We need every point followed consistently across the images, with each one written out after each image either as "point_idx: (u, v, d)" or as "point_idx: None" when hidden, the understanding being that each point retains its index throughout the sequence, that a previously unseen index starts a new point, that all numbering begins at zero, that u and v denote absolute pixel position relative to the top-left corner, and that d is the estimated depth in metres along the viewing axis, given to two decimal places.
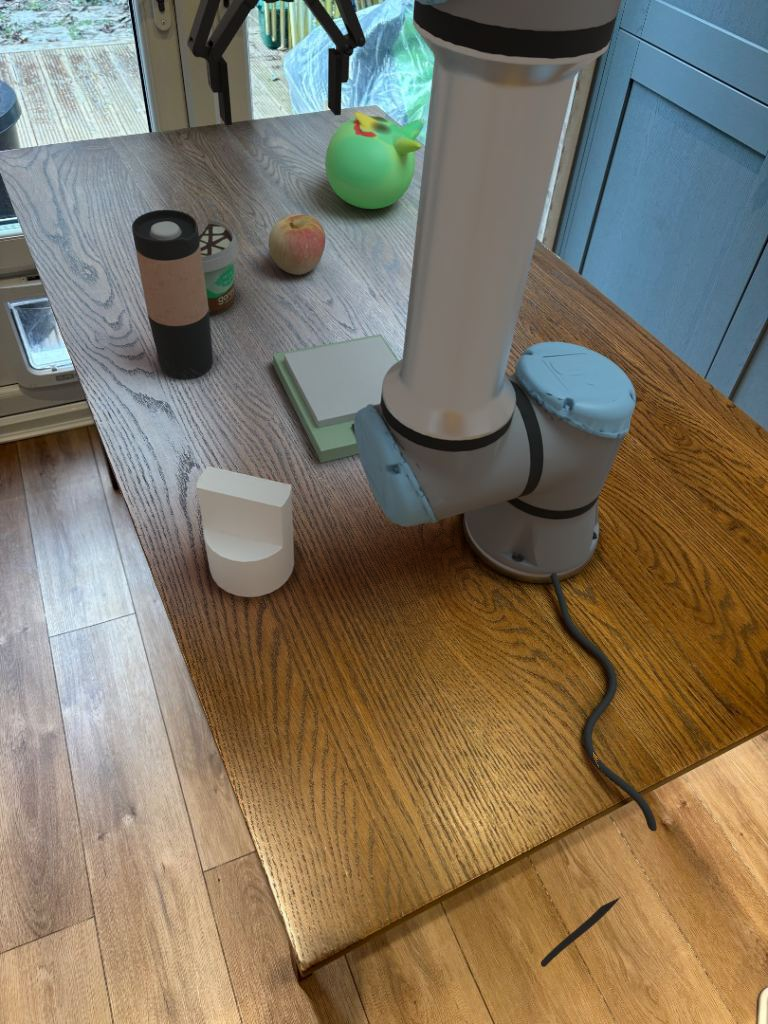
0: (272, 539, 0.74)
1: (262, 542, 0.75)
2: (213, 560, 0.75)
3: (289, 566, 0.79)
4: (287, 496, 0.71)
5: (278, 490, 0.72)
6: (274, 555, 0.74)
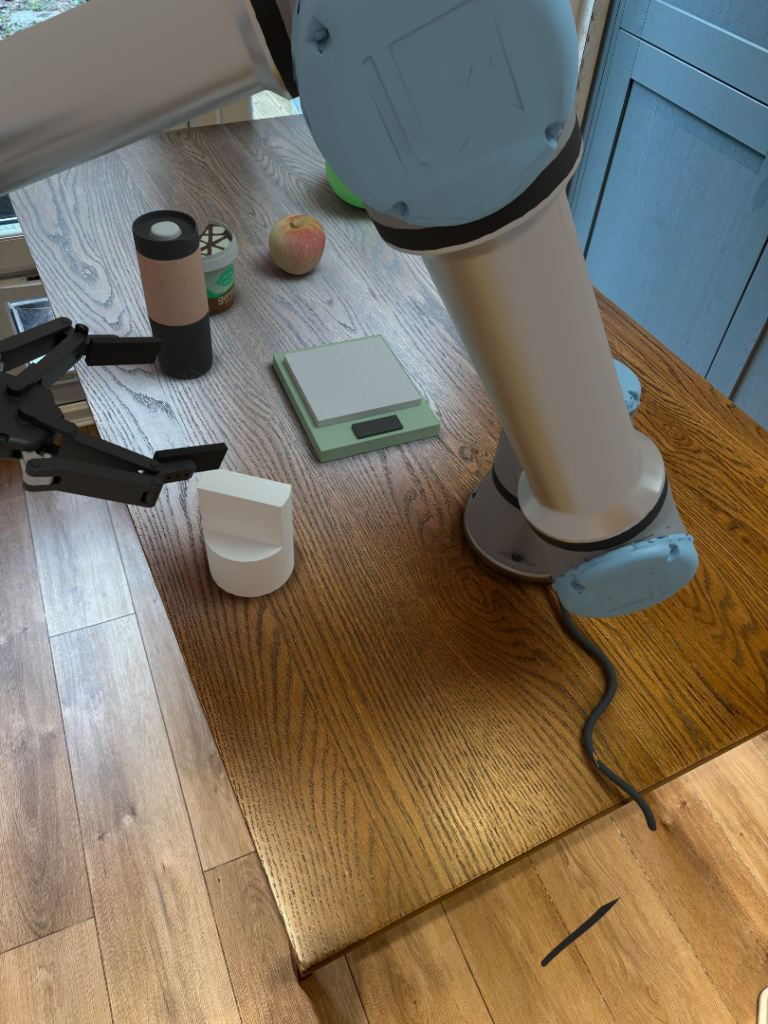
0: (272, 539, 0.74)
1: (262, 542, 0.75)
2: (213, 560, 0.75)
3: (289, 567, 0.79)
4: (287, 496, 0.71)
5: (278, 490, 0.72)
6: (274, 556, 0.74)
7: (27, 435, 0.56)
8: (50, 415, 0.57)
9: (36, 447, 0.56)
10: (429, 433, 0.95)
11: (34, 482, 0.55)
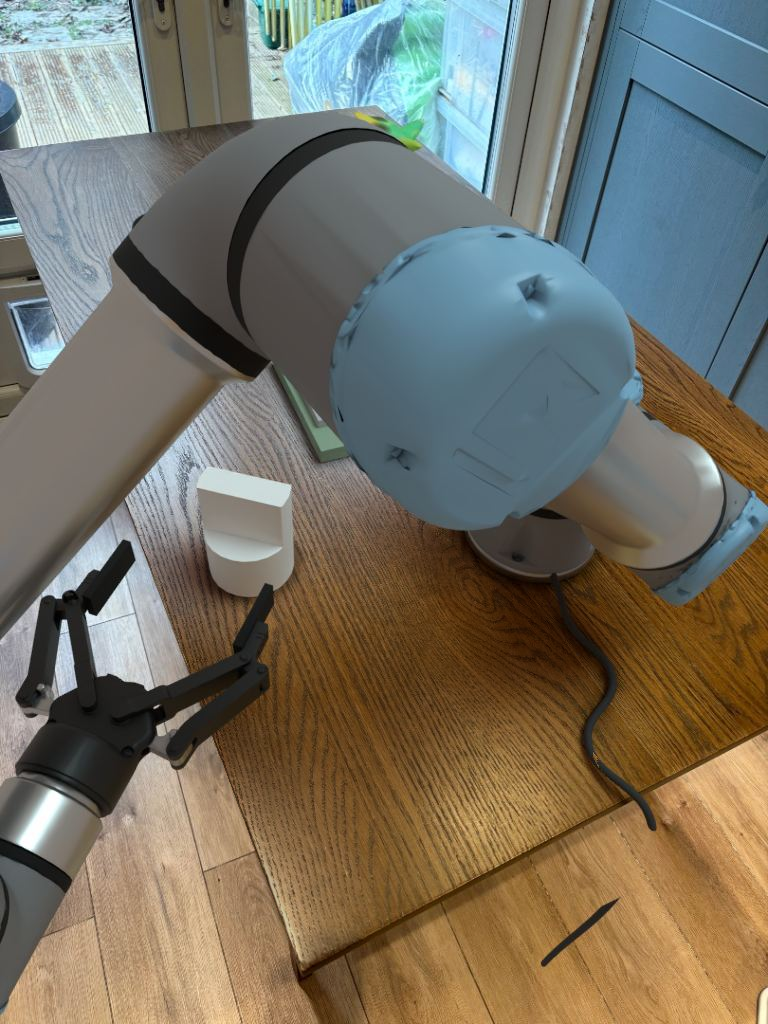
0: (272, 539, 0.74)
1: (262, 542, 0.75)
2: (213, 560, 0.75)
3: (289, 567, 0.79)
4: (287, 496, 0.71)
5: (278, 490, 0.72)
6: (274, 556, 0.74)
7: (140, 730, 0.55)
8: (138, 697, 0.56)
9: (155, 732, 0.56)
10: None
11: (183, 759, 0.55)
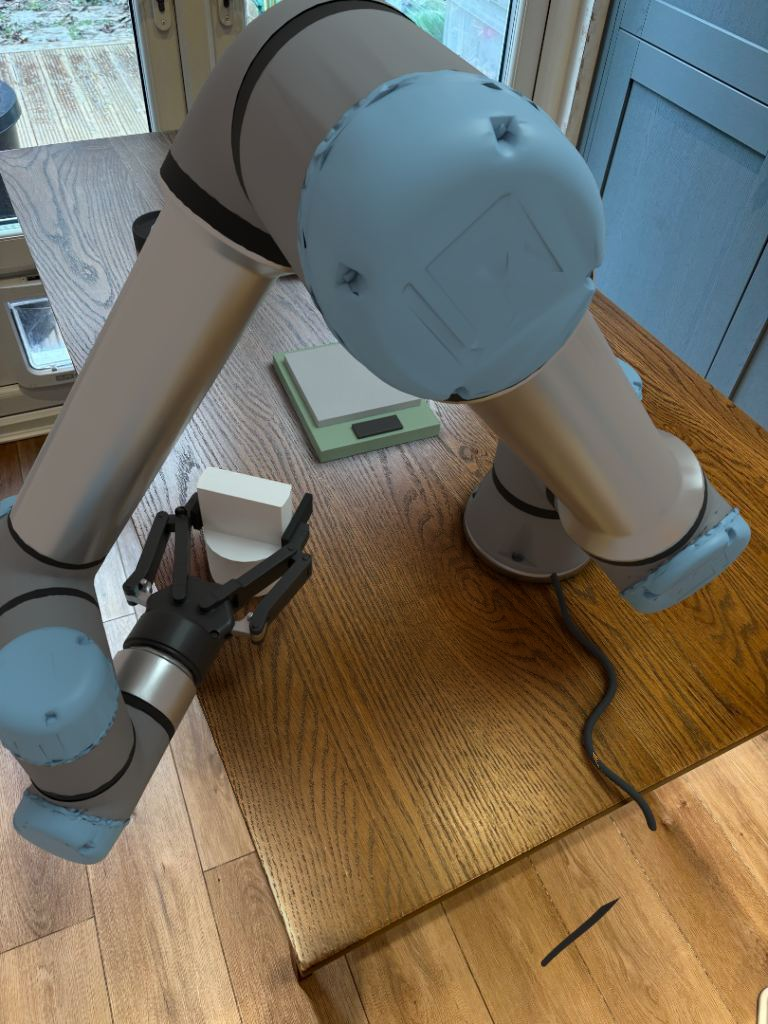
0: (272, 539, 0.74)
1: (262, 542, 0.75)
2: (213, 560, 0.75)
3: None
4: (287, 496, 0.71)
5: (278, 490, 0.72)
6: None
7: (223, 619, 0.66)
8: (219, 593, 0.67)
9: (234, 620, 0.67)
10: (429, 433, 0.95)
11: (262, 635, 0.67)
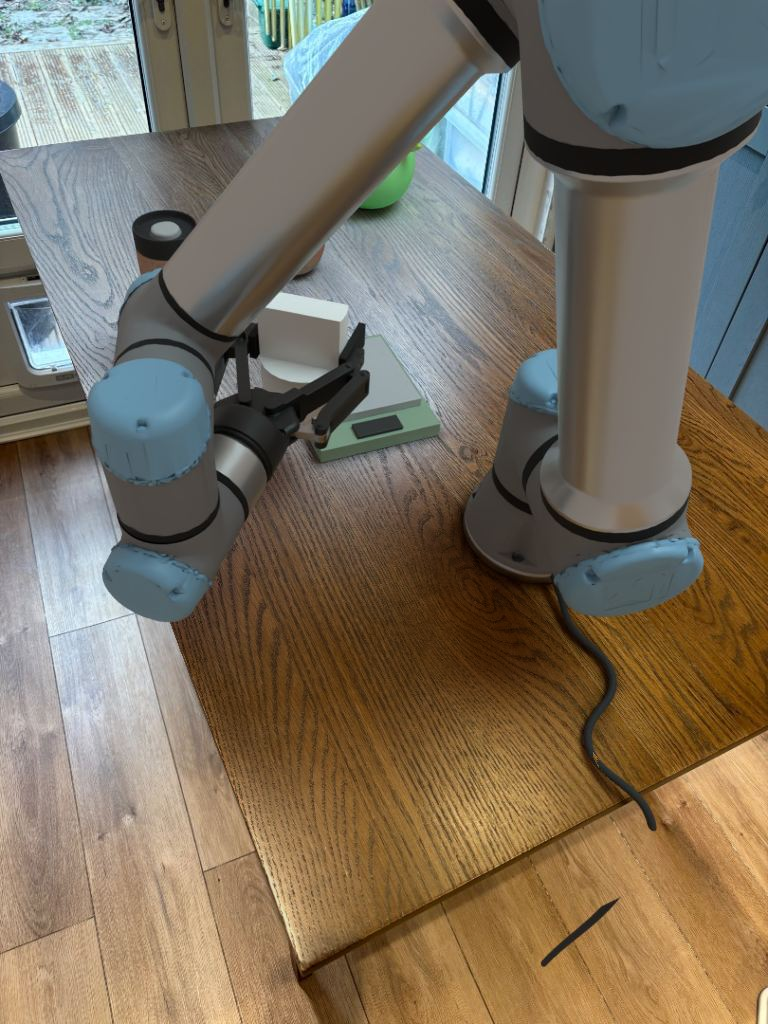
0: (329, 363, 0.76)
1: (318, 367, 0.77)
2: (270, 386, 0.77)
3: None
4: (345, 313, 0.73)
5: (336, 308, 0.73)
6: None
7: (288, 420, 0.68)
8: (284, 398, 0.69)
9: (299, 423, 0.69)
10: (429, 433, 0.95)
11: (326, 437, 0.69)
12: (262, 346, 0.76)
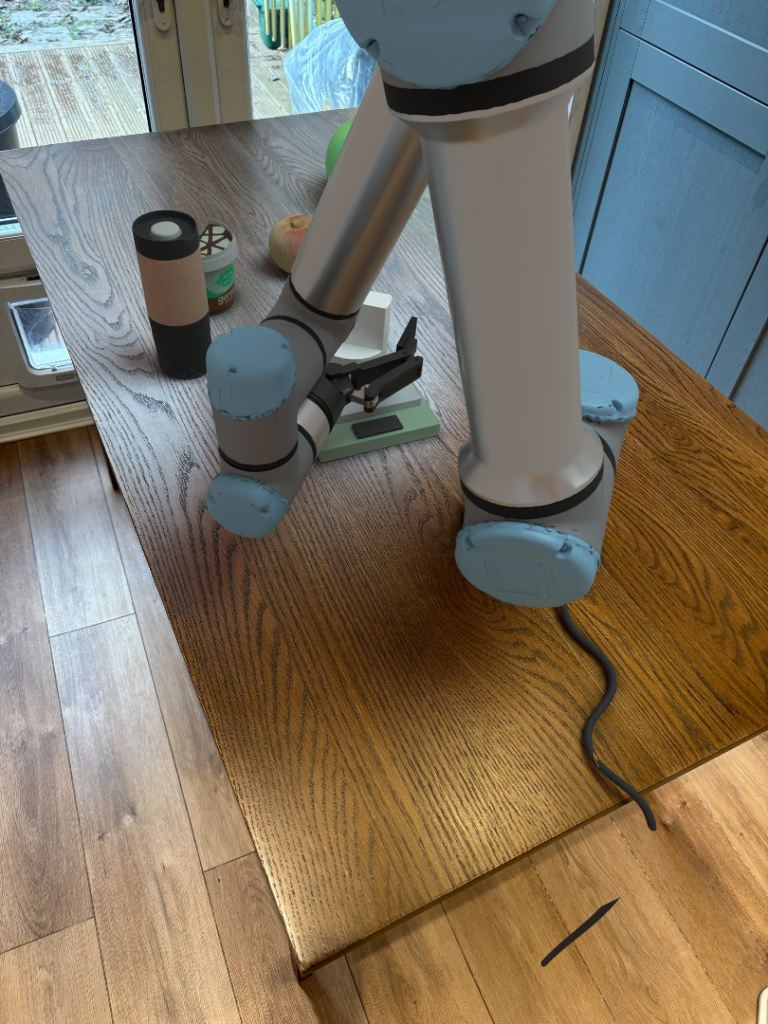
0: (374, 343, 0.91)
1: (365, 347, 0.92)
2: None
3: None
4: (389, 302, 0.88)
5: (382, 298, 0.89)
6: (375, 357, 0.92)
7: (345, 384, 0.83)
8: (341, 367, 0.84)
9: (354, 387, 0.84)
10: (429, 433, 0.95)
11: (373, 404, 0.83)
12: None
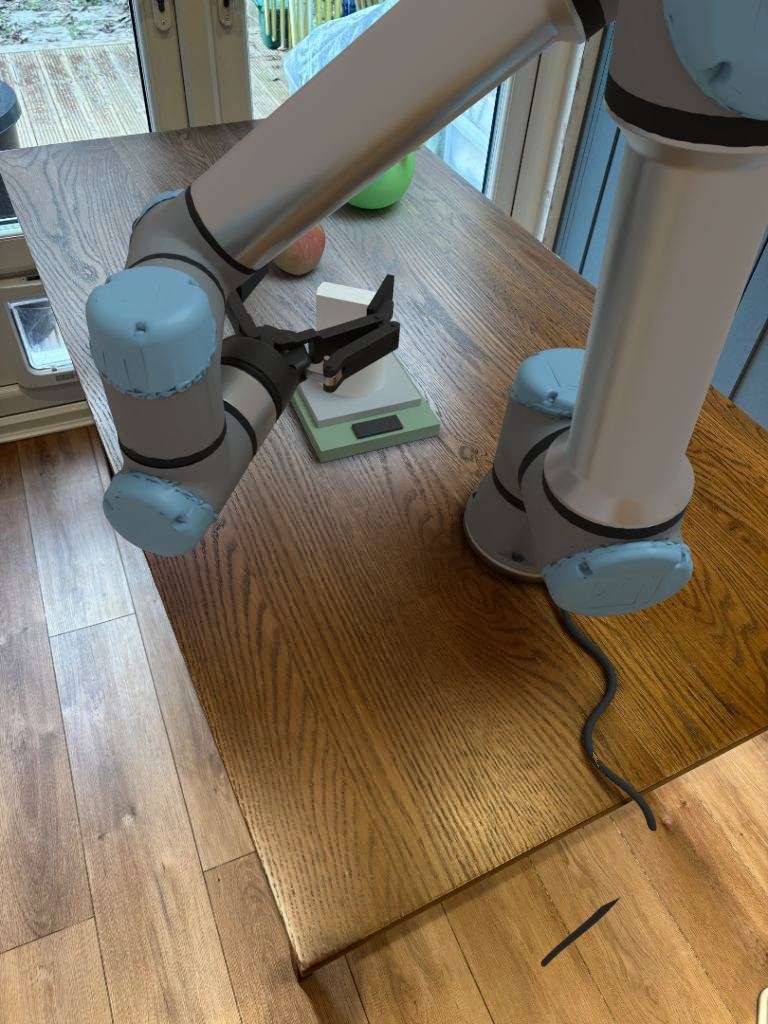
0: None
1: None
2: None
3: (383, 374, 0.96)
4: None
5: None
6: None
7: (299, 356, 0.65)
8: (294, 334, 0.66)
9: (310, 360, 0.66)
10: (429, 433, 0.95)
11: (335, 380, 0.65)
12: (319, 329, 0.92)
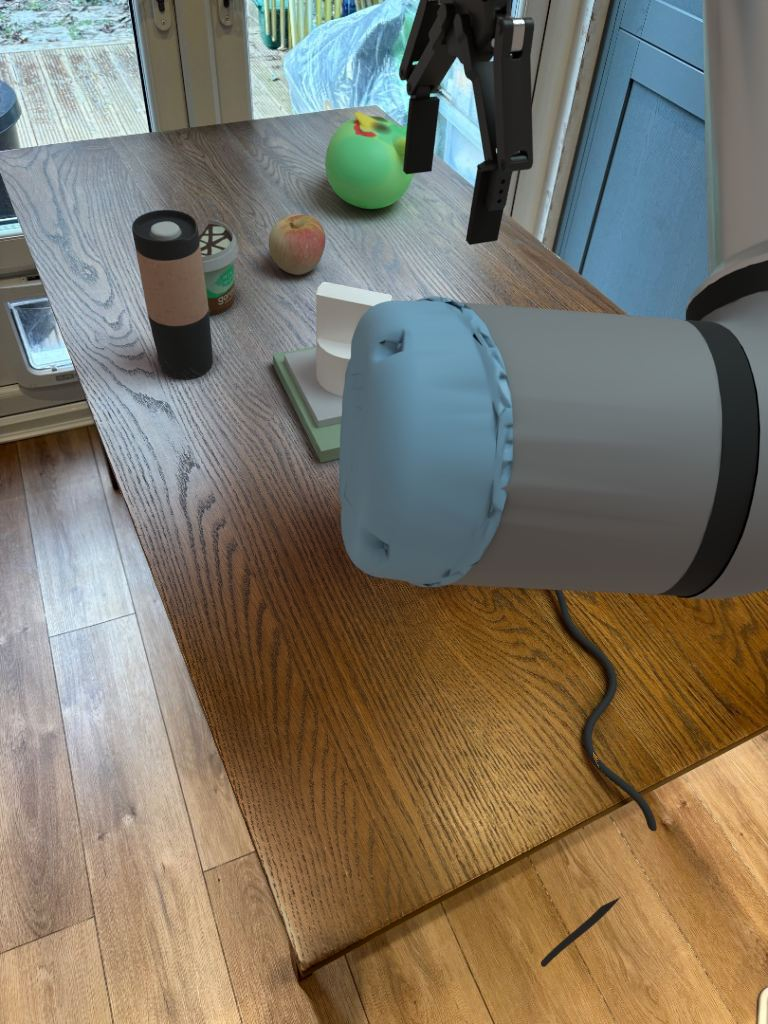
0: None
1: None
2: (324, 362, 0.93)
3: None
4: None
5: (382, 298, 0.89)
6: None
7: None
8: (439, 31, 0.59)
9: None
10: None
11: None
12: (319, 329, 0.92)
